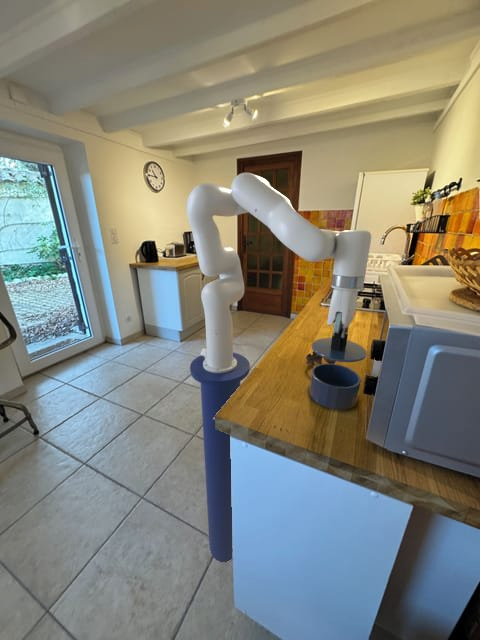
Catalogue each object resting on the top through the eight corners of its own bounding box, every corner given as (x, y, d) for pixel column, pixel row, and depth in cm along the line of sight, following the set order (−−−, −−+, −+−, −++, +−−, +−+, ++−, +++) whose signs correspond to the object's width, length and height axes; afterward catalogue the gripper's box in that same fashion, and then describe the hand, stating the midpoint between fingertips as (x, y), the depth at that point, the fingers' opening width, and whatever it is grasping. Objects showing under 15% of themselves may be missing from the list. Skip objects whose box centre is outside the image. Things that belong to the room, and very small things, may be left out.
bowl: (302, 399, 74) (305, 378, 71) (317, 378, 84) (319, 359, 82) (351, 416, 67) (355, 394, 64) (360, 391, 77) (364, 371, 75)
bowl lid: (304, 355, 69) (305, 335, 67) (320, 337, 80) (322, 320, 78) (360, 370, 61) (364, 348, 59) (369, 348, 72) (373, 330, 70)
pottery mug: (325, 381, 83) (314, 358, 83) (307, 379, 92) (298, 358, 91) (349, 364, 88) (339, 342, 87) (330, 363, 96) (321, 344, 96)
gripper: (340, 276, 72) (332, 335, 78) (323, 285, 60) (315, 355, 66) (368, 278, 68) (358, 341, 74) (357, 289, 56) (345, 363, 62)
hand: (338, 347), depth 70 cm, fingers closed on bowl lid, 2 cm apart
